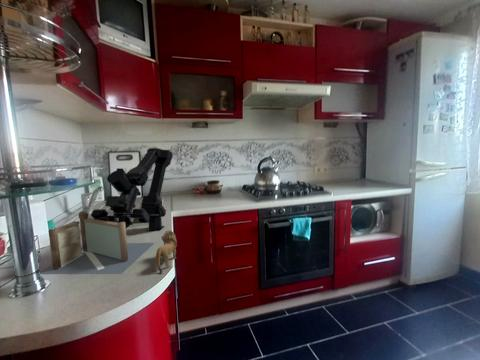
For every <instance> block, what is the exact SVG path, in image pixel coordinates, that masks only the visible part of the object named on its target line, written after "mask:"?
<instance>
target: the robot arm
mask: <svg viewBox="0 0 480 360" xmlns="http://www.w3.org/2000/svg"><path fill="white" fill-rule="evenodd" d="M172 160H173V152H172V151H171V150H170V149H163V148H162V149H161V148H158V147H149V148H148V149H147V150H146V153H145V154H144V156H143V157H142V159H141V160H140V162H139V163H138V164H137V165H136V166H135V167H133V168H131V169H129V171H127V172H126V171H125V170H124V168H119V167H118V168H116V170H114V171H112V172H110V174H109V175H107V178H106V181H107V182H108V183H109V184H110V185H111V186H112V187H113V189H114V190H115V191H116V192H118V193H119V196H118V195H107V196H106V199H105V205H104V206H105V207H110V208H109V210H111V211H108V210H106V209H105V208H96V209H93V210H92V212H91V214H90V216H91V217H92V219H97V220H103V221H110V222H116V223H120V222H125V225H126V229H128V227H130V226H133V225H134V220H135V219H138V222H139V223H140V224H147V225H148V228H147V229H145V231H146V232H160V231H162V230H163V229H164V228H165V227H166V226H164V225H163V224H162V223H163V221H162V218H163V217H165V216H166V214H167V210H166V209H165V207H164V206H163V200H162V198H161V194H162V189H163V184H164V180H165V179H164V178H165V174H166V169H167V168H168V167H169V166H170V165H171V163H172ZM153 165H155V166H154V169H153V174H152V179H151V182H150V183H151V184H150V187H149V190H148V194H147V195H144V196H143V197H142V201H141V203H140V205H141V206H140V208H136V204H135V203H136V200H137V197H139V196H141V195H142V193H141V191H140V189H139V188H138V187H144V186H145V185H146V184H147V182H148V179H149V175H148V173H149V171H150V170H151V169H152V167H153Z"/></svg>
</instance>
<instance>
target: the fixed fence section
mask: <svg viewBox="0 0 480 360" xmlns="http://www.w3.org/2000/svg"><path fill="white" fill-rule="evenodd" d="M87 218H89V213H88V212H87V211H84V210H82V211H81V212H79V213H78V219H79V221H75V220H74V221H71V222H69V223H67V224H64V225H61V226H58V227H56V228H52V229H48V237H49V245H50V254H51V264H53V270H57V269H59V268H61V267H62V266H63V265H65V264H67V263H68V262H70V261H72V260H73V259H75V258H77V257H78V256H80V255H82V251H81V248H82V247H83V252H87V242H86V232H85V222H84V221H83V219H87ZM81 243H82V244H81Z"/></svg>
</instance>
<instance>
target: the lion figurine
mask: <svg viewBox="0 0 480 360" xmlns="http://www.w3.org/2000/svg"><path fill="white" fill-rule="evenodd" d="M161 241H163V245H162V246H159V247H158V248H157V250H156V253H155V264H154V272H155V273H158V272H159V274H161V275H162V274H163V269H162V268H161V261H160V260H161V258H162V259H163V260H164V265H165V267H166V268H169V269H170V268H172V265H171V264H169V256H170V255H172V259H173V260H175V259H177V257H176V254H177V249H176V248H177V246H178V241H177V237H176V233H175V232H174V231H172V230H165V232H164V233H163V235H162V236H161Z"/></svg>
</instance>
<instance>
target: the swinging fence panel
mask: <svg viewBox="0 0 480 360" xmlns="http://www.w3.org/2000/svg"><path fill="white" fill-rule="evenodd" d="M83 221H84V222H85V232H86V242H87V251H90V252H94V253H98V254H102V255H105V256H109V257H113V258H117V259H121V260H122V261H125V260H128V249H127V243H128V240H127V228H126V225H125V222H120V223H116V222H110V221H103V220H97V219H94V218H89V217H88V218H87V219H83Z"/></svg>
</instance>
